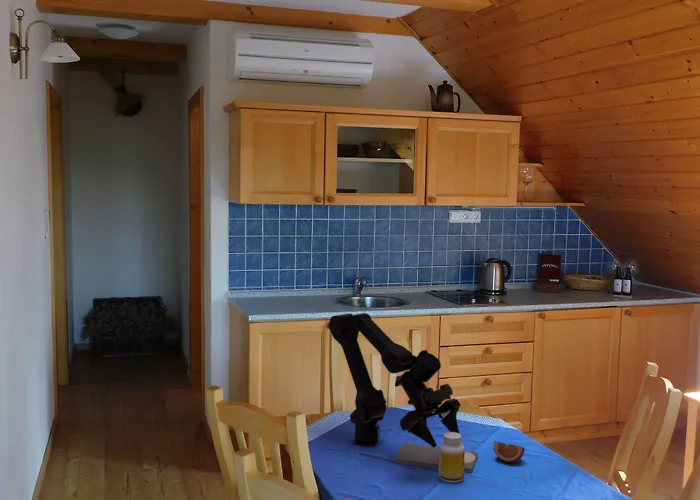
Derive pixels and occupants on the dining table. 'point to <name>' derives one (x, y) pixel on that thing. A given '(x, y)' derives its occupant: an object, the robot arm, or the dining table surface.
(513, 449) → the fruit slice
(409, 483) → the dining table surface
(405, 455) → the panel board
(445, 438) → the pill bottle
